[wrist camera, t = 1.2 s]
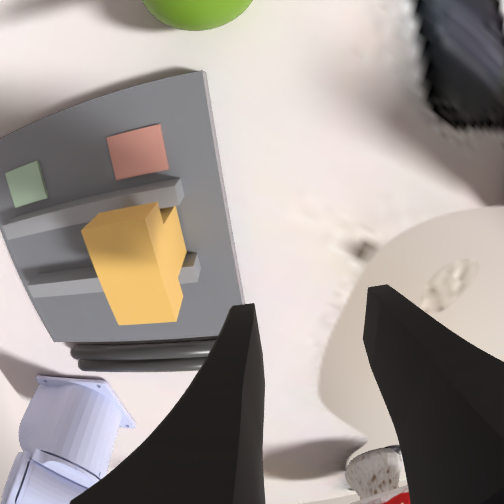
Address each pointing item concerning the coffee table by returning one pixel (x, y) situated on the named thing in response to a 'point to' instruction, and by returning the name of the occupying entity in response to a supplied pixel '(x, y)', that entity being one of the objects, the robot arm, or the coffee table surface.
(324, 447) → the coffee table surface
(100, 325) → the panel
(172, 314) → the toggle knob
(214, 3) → the snail figurine
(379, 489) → the decorative mushroom
